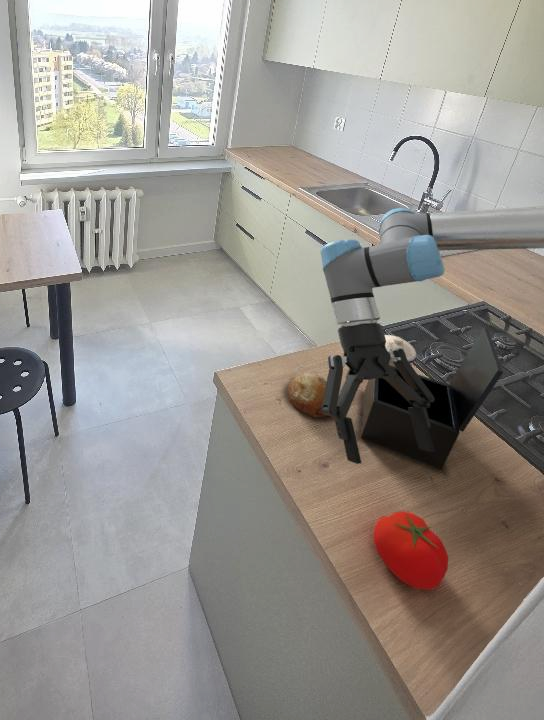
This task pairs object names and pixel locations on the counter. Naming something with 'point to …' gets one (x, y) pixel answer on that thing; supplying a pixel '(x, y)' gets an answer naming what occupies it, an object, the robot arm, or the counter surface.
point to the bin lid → (475, 378)
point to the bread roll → (308, 393)
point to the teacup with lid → (398, 342)
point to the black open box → (409, 420)
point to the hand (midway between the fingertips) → (391, 456)
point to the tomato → (411, 550)
